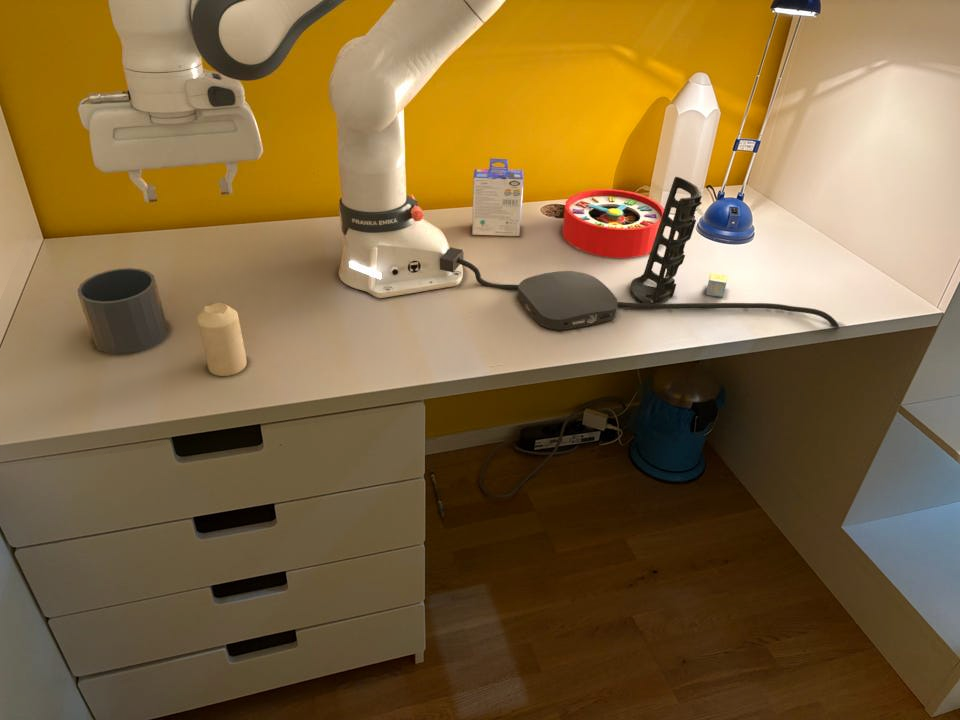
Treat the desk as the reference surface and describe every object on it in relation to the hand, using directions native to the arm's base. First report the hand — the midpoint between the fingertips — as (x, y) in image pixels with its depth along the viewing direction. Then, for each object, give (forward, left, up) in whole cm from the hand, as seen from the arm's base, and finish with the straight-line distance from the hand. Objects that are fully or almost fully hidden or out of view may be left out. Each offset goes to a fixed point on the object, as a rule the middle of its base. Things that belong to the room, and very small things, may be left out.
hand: (189, 196), depth 96 cm
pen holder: (+14, -7, -25) cm, 30 cm away
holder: (-73, -8, -25) cm, 78 cm away
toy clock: (-73, -32, -25) cm, 84 cm away
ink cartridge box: (-50, -37, -25) cm, 67 cm away
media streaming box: (-56, -6, -25) cm, 62 cm away
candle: (-1, +4, -25) cm, 26 cm away
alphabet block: (-84, -7, -25) cm, 88 cm away
